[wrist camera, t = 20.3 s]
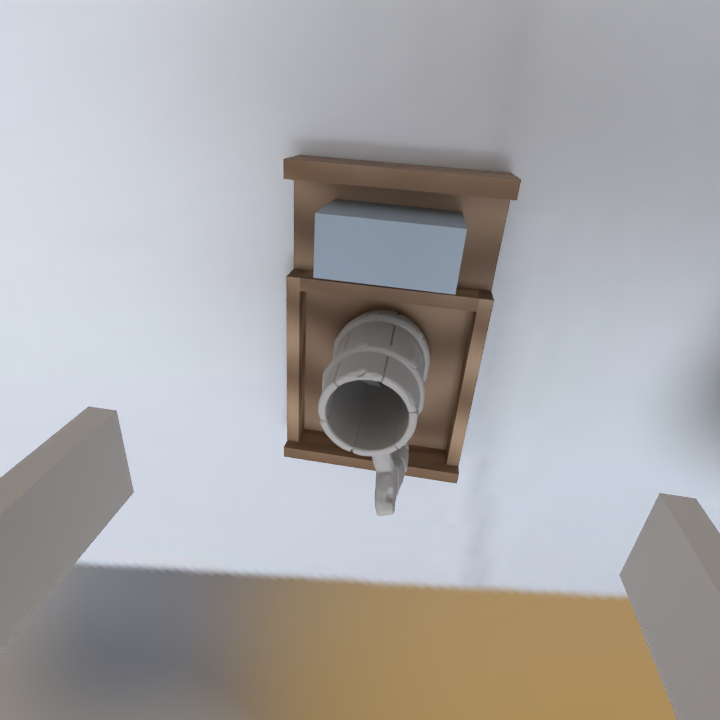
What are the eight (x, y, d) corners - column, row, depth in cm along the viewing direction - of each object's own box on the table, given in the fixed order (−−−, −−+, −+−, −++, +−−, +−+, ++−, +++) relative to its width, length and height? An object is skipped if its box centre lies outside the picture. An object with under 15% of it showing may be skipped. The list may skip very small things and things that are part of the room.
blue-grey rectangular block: (332, 254, 35) (313, 277, 30) (334, 198, 33) (315, 213, 28) (453, 267, 34) (455, 294, 29) (462, 211, 32) (467, 229, 27)
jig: (299, 155, 33) (281, 159, 29) (512, 173, 32) (522, 180, 28) (297, 426, 45) (284, 456, 41) (455, 450, 43) (456, 483, 39)
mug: (420, 296, 35) (411, 370, 25) (447, 423, 40) (450, 531, 30) (326, 314, 37) (280, 390, 27) (362, 434, 42) (337, 539, 31)
